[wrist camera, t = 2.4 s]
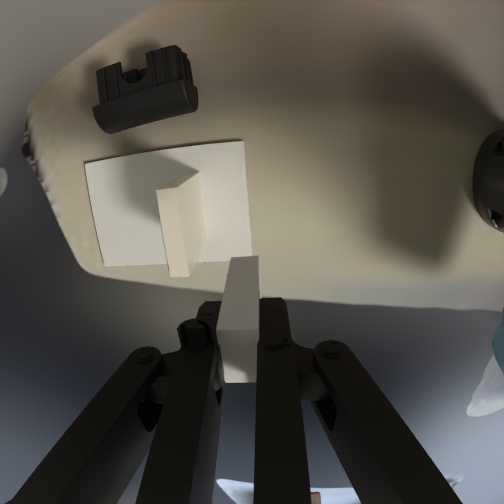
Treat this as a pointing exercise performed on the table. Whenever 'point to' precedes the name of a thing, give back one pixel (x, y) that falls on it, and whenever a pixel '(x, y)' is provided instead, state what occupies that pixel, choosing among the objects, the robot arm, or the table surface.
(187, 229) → the tile
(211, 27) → the table surface
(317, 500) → the cracker box
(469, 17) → the table surface
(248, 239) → the mat
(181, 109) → the end cap
